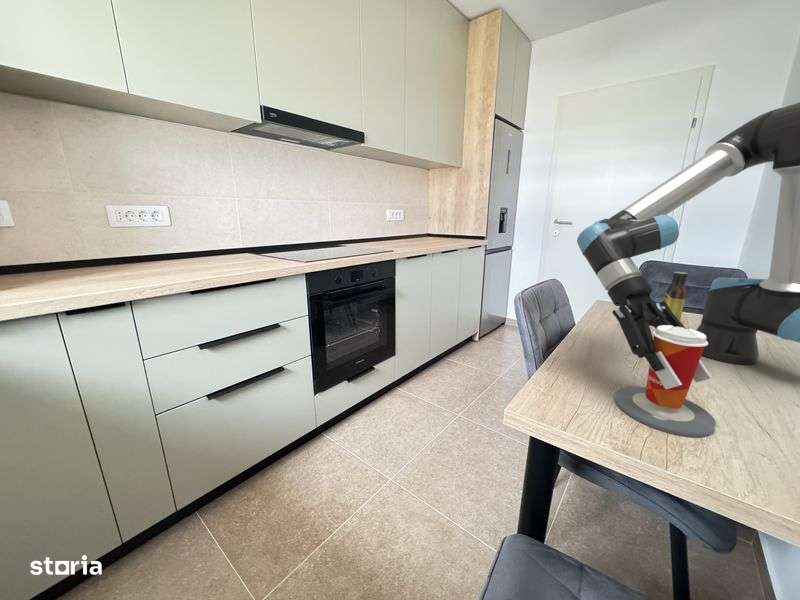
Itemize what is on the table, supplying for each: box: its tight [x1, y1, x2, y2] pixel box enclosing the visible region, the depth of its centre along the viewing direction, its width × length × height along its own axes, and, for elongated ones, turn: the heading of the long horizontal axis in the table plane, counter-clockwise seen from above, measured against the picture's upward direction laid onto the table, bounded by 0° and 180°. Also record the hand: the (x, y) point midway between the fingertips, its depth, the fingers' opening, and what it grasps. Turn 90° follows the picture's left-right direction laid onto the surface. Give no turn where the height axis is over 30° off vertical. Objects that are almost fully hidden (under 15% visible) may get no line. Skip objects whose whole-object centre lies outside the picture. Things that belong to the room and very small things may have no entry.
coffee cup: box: [645, 325, 708, 409], centre depth 64 cm, size 8×8×15 cm
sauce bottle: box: [662, 271, 689, 322], centre depth 122 cm, size 6×6×20 cm
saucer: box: [614, 385, 717, 438], centre depth 66 cm, size 16×16×1 cm
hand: (689, 383), depth 61 cm, fingers closed on coffee cup, 8 cm apart
